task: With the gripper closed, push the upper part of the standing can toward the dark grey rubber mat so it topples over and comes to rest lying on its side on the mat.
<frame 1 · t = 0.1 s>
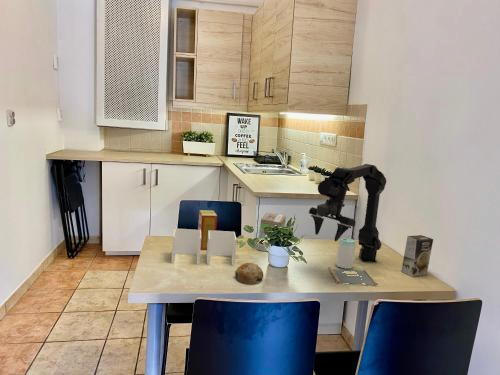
hand: (325, 237, 158), 15 cm above the table, tool pointing down, fingers open, 9 cm apart
bread roll: (248, 279, 151), on the table
can: (343, 267, 173), on the table
baking soda box: (205, 246, 182), on the table
mat: (351, 277, 162), on the table
tea box: (270, 247, 190), on the table
coffee box: (413, 273, 173), on the table
zigzag folding screen: (203, 260, 166), on the table
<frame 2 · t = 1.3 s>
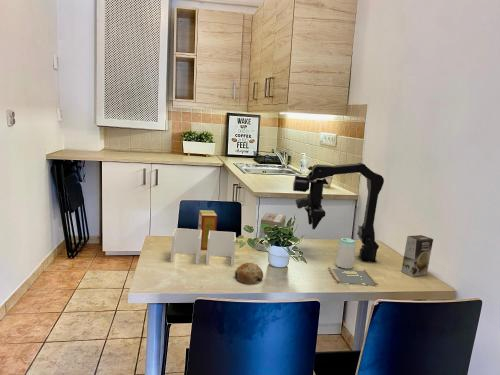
hand: (311, 226, 182), 13 cm above the table, tool pointing down, fingers open, 8 cm apart
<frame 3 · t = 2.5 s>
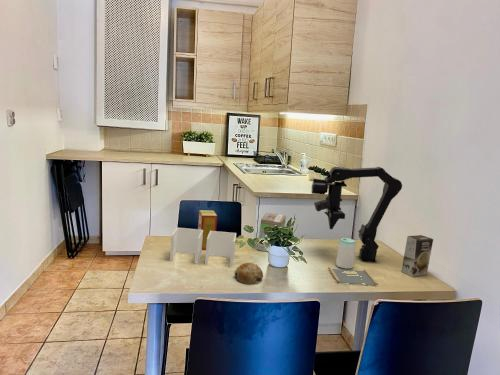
hand: (330, 229, 183), 13 cm above the table, tool pointing down, fingers closed
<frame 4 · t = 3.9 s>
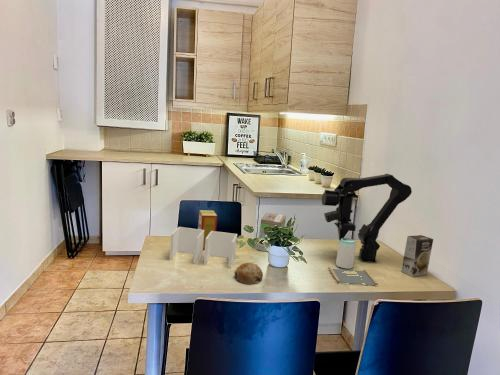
hand: (340, 240, 181), 8 cm above the table, tool pointing down, fingers closed
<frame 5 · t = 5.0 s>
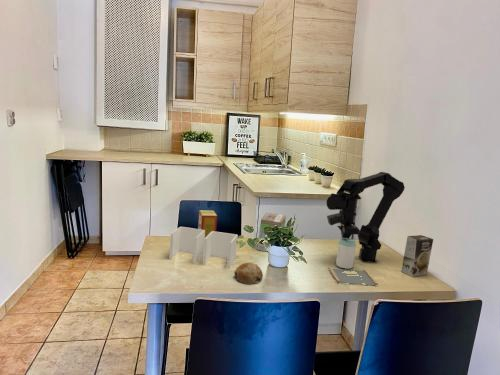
hand: (343, 243, 176), 9 cm above the table, tool pointing down, fingers closed
can: (343, 266, 173), on the table, touching gripper
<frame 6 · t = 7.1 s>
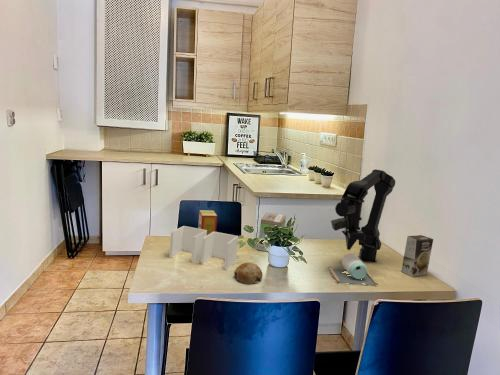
hand: (348, 249, 169), 8 cm above the table, tool pointing down, fingers closed
can: (349, 260, 169), point 4 cm above the table, touching mat
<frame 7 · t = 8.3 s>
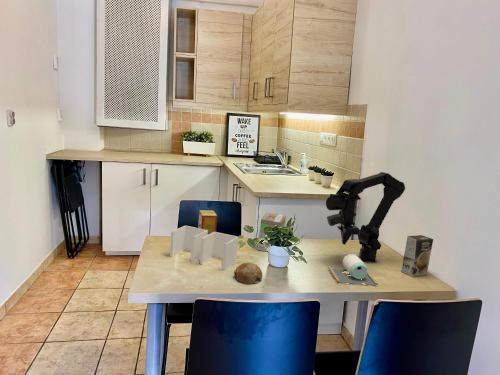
hand: (343, 244, 176), 8 cm above the table, tool pointing down, fingers closed
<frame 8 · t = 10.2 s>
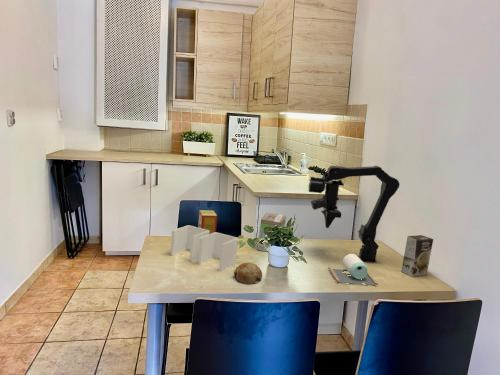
hand: (326, 227, 183), 13 cm above the table, tool pointing down, fingers closed
at the end: can tilted 90°; can inside the target area (8.0 cm from its centre), point 3.8 cm above the table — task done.
